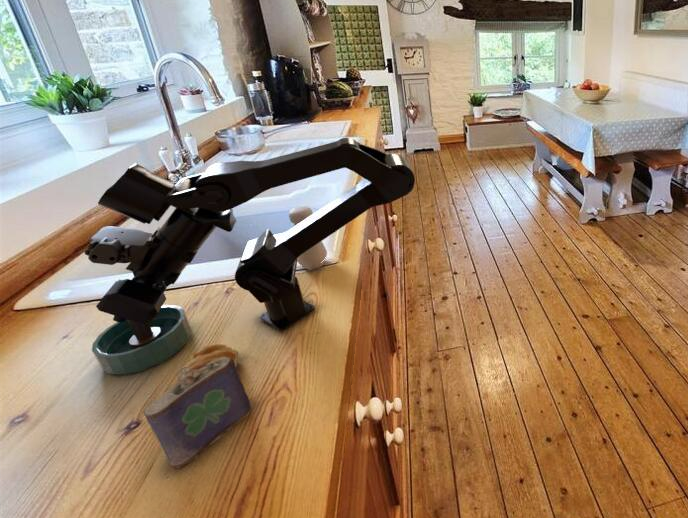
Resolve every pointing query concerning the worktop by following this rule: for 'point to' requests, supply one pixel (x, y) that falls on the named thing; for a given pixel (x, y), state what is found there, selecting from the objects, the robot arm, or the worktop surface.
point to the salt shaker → (316, 253)
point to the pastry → (211, 356)
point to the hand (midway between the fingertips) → (121, 315)
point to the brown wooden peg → (143, 334)
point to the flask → (198, 410)
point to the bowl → (124, 360)
